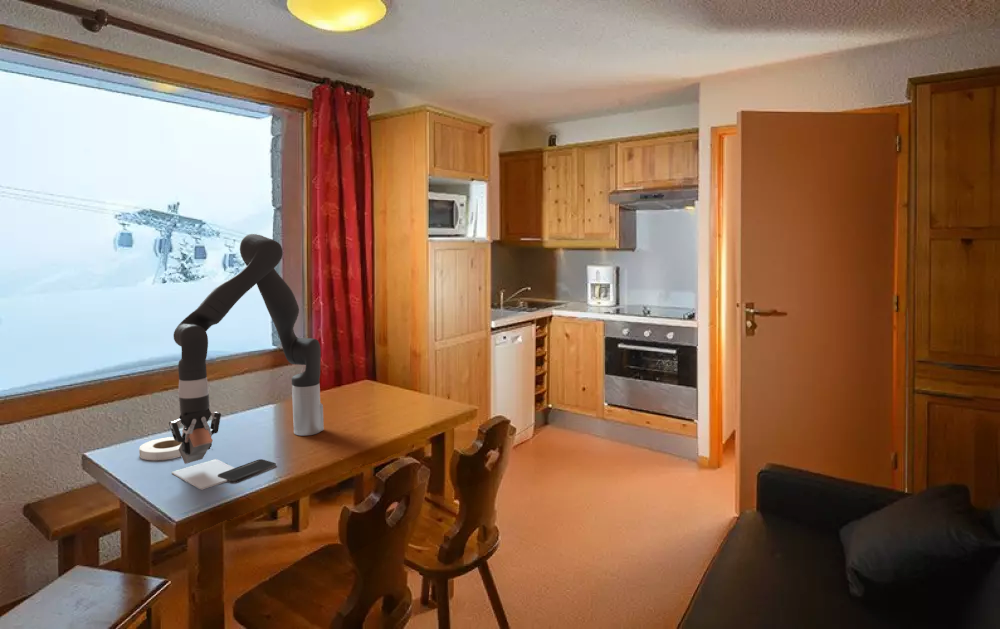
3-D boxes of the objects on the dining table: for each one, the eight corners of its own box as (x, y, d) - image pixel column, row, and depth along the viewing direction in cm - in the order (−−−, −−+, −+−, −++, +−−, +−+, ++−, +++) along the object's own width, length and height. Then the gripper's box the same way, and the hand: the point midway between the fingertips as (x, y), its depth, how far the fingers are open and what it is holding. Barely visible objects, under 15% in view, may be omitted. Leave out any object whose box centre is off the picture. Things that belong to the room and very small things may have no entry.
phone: (215, 475, 171) (260, 458, 184) (216, 478, 171) (260, 462, 184) (233, 480, 167) (277, 463, 180) (233, 484, 168) (278, 467, 180)
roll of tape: (177, 441, 203) (176, 432, 202) (205, 449, 195) (204, 441, 194) (129, 455, 189) (128, 446, 189) (157, 465, 182) (156, 455, 181)
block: (196, 444, 178) (206, 426, 173) (202, 458, 177) (212, 440, 171) (178, 449, 174) (188, 430, 169) (184, 463, 173) (194, 445, 167)
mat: (216, 460, 184) (216, 458, 184) (246, 475, 173) (246, 473, 173) (171, 473, 174) (171, 471, 174) (201, 489, 163) (201, 488, 163)
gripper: (173, 401, 162) (177, 461, 165) (225, 390, 174) (228, 447, 176) (161, 396, 167) (165, 455, 169) (212, 386, 178) (215, 442, 180)
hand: (197, 451), depth 172 cm, fingers closed on block, 5 cm apart
